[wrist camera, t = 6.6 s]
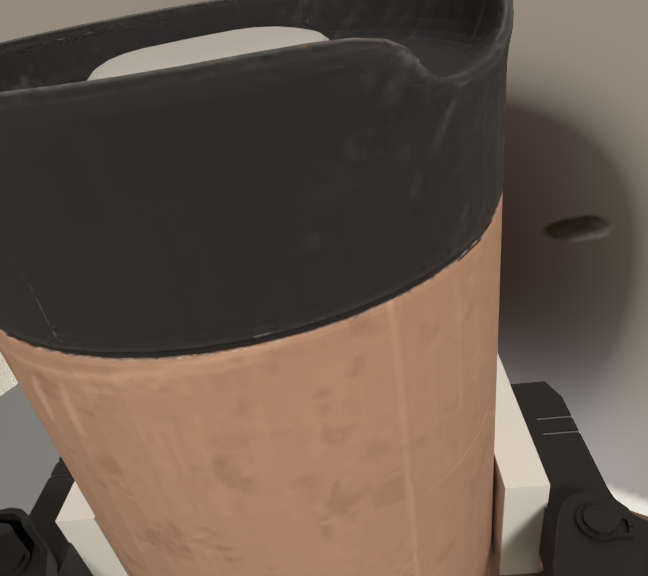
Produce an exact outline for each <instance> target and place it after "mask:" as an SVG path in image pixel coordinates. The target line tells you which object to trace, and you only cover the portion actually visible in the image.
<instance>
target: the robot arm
mask: <svg viewBox="0 0 648 576" xmlns="http://www.w3.org/2000/svg"><path fill="white" fill-rule="evenodd" d="M491 545H492V548H493V552H494V556H495V560H496V564H497V568H498V571H499V575H510V574H527V573H538V571H539V564H540V559H541V562H542V565H543V568H544V571H545V574H546V576H648V521H647V520H645V519H643V518H641V517H639V516H636V515H634V514H633V513H631V511H630V510H629V509H628V508H627V507H625V506H624V505H623V504H621V503H620V502H618V501H617V500H616V499H615V498H614V497H613V496H612V494H611V493H610V491H609V489H608V488H607V486H606V484H605V482H604V480H603V478H602V476H601V474H600V472H599V470H598V468H597V466H596V464H595V462H594V460H593V458H592V456H591V454H590V452H589V450H588V448H587V446H586V444H585V442H584V440H583V438H582V436H581V434H579V432H578V428H577V426H576V424H575V422H574V420H573V419H572V418H571V414H570V412H569V410H568V408H567V406H566V404H565V402H564V400H563V398H562V397H561V395H559V394H558V393H557V392H556V391H555V390H554V389H553V388H551V387H550V386H549V385H548V384H547V383H546V382H544V381H543V382H532V383H521V384H510V383H509V381H508V378H507V376H506V373H505V370H504V368H503V365H502V363H501V361H500V358H499V356H498V353H497V380H496V411H495V442H494V472H493V503H492V533H491ZM0 576H129V574H128V572H127V571H126V569H125V567H124V565H123V564H122V562H121V560H120V558H119V557H118V555H117V553H116V551H115V550H114V548H113V546H112V544H111V543H110V541H109V539H108V537H107V536H106V534H105V532H104V531H103V529H102V527H101V525H100V524H99V522H98V520H97V518H96V517H95V515H94V513H93V511H92V510H91V508H90V506H89V504H88V503H87V501H86V499H85V497H84V496H83V494H82V492H81V491H80V489H79V487H78V485H77V484H76V482H75V480H74V478H73V477H72V475H71V473H70V471H69V470H68V468H67V466H66V464H65V463H64V461H63V459H62V457H61V456H60V458H59V463H57V464H56V465H55V467H54V469H53V471H52V473H51V478H49V479H48V481H47V482H46V484H45V486H44V488H43V490H42V492H41V494H40V496H39V497H38V499H37V501H36V503H35V505H34V507H33V509H32V511H31V513H30V514H29V515H28V514H27V513H26V512H24V511H23V510H22V509H19V508H12V507H10V508H6V509H1V510H0Z"/></svg>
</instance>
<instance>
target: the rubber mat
mask: <svg viewBox="0 0 648 576" xmlns="http://www.w3.org/2000/svg"><path fill="white" fill-rule="evenodd" d="M59 458H60V454H59V452H58V451H57V449H56V447H55V445H54V444H53V442H52V440H51V438H50V437H49V435H48V433H47V431H46V430H45V428H44V426H43V424H42V423H41V421H40V419H39V417H38V416H37V414H36V412H35V411H34V409H33V407H32V405H31V404H30V402H29V400H28V398H27V397H26V395H25V393H24V391H23V390H22V388H21V386H20V384H19V383H18V384H17V385H16V386H14V387H13V388H12V389H10V390H9V391H7V392H6V393H5V394H3V395H2V396H0V510H1V509H6V508H10V507H12V508H19V509H22V510H23V511H24V512H26V513H27V514H28V515H29V514H30V513H31V511H32V509H33V507H34V505H35V503H36V501H37V499H38V497H39V496H40V494H41V492H42V490H43V488H44V486H45V484H46V482H47V481H48V479H49V478H51V473H52V471H53V469H54V467H55V465H56V464H57V463H59Z"/></svg>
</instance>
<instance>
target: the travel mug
mask: <svg viewBox="0 0 648 576" xmlns="http://www.w3.org/2000/svg"><path fill="white" fill-rule="evenodd" d="M513 14H514V11H513V0H211V1H204V2H198V3H193V4H187V5H181V6H175V7H170V8H164V9H159V10H153V11H148V12H143V13H137V14H132V15H127V16H122V17H117V18H111V19H106V20H101V21H97V22H92V23H87V24H82V25H77V26H72V27H68V28H63V29H58V30H54V31H49V32H45V33H40V34H36V35H31V36H27V37H22V38H18V39H14V40H10V41H6V42H1V43H0V351H1V353H2V355H3V357H4V358H5V360H6V362H7V364H8V365H9V367H10V369H11V371H12V372H13V374H14V376H15V377H16V379H17V381H18V383H19V384H20V386H21V388H22V390H23V391H24V393H25V395H26V397H27V398H28V400H29V402H30V404H31V405H32V407H33V409H34V411H35V412H36V414H37V416H38V417H39V419H40V421H41V423H42V424H43V426H44V428H45V430H46V431H47V433H48V435H49V437H50V438H51V440H52V442H53V444H54V445H55V447H56V449H57V451H58V452H59V454H60V456H61V457H62V459H63V461H64V463H65V464H66V466H67V468H68V470H69V471H70V473H71V475H72V477H73V478H74V480H75V482H76V484H77V485H78V487H79V489H80V491H81V492H82V494H83V496H84V497H85V499H86V501H87V503H88V504H89V506H90V508H91V510H92V511H93V513H94V515H95V517H96V518H97V520H98V522H99V524H100V525H101V527H102V529H103V531H104V532H105V534H106V536H107V537H108V539H109V541H110V543H111V544H112V546H113V548H114V550H115V551H116V553H117V555H118V557H119V558H120V560H121V562H122V564H123V565H124V567H125V569H126V571H127V572H128V574H129V576H490V565H491V533H492V503H493V472H494V442H495V411H496V380H497V349H498V318H499V317H498V316H499V287H500V256H501V255H500V254H501V225H502V224H501V223H502V187H503V164H504V135H505V104H506V75H507V57H508V48H509V42H510V38H511V33H512V28H513Z"/></svg>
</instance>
